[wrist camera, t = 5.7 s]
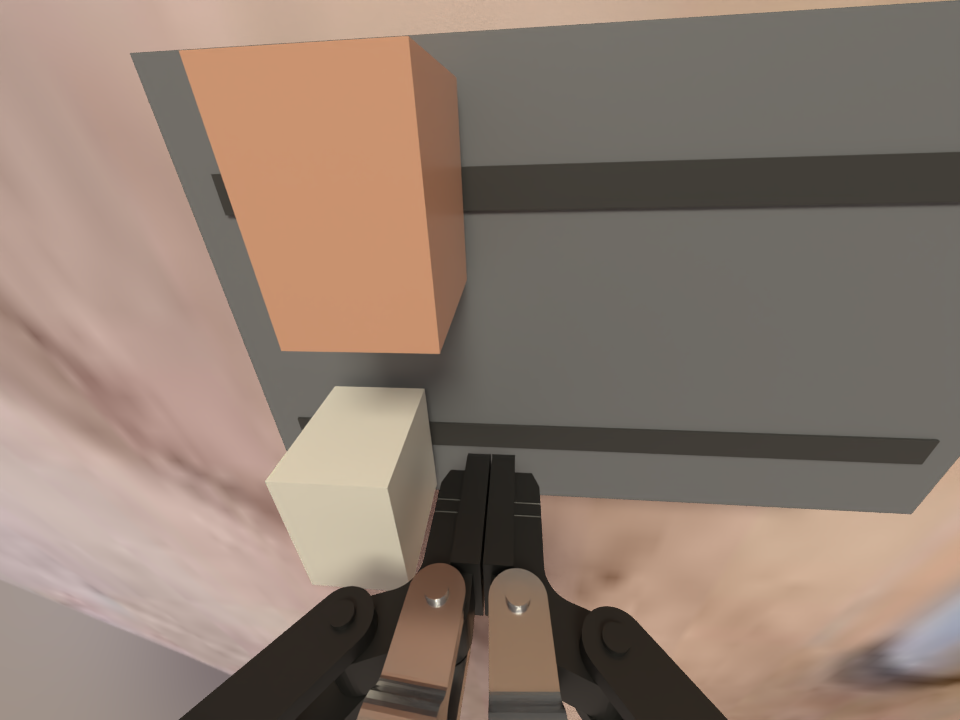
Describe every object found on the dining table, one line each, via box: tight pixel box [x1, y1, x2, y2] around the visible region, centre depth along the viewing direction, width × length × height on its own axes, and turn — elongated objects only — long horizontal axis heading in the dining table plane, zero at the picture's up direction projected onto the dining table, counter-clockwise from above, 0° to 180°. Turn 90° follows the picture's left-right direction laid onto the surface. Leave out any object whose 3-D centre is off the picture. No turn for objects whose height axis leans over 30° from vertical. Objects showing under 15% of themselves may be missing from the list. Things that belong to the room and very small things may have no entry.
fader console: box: [130, 0, 960, 514], centre depth 12 cm, size 23×14×3 cm, turn 92°
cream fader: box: [265, 386, 437, 591], centre depth 12 cm, size 3×4×4 cm
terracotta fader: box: [179, 36, 467, 354], centre depth 8 cm, size 3×4×4 cm
